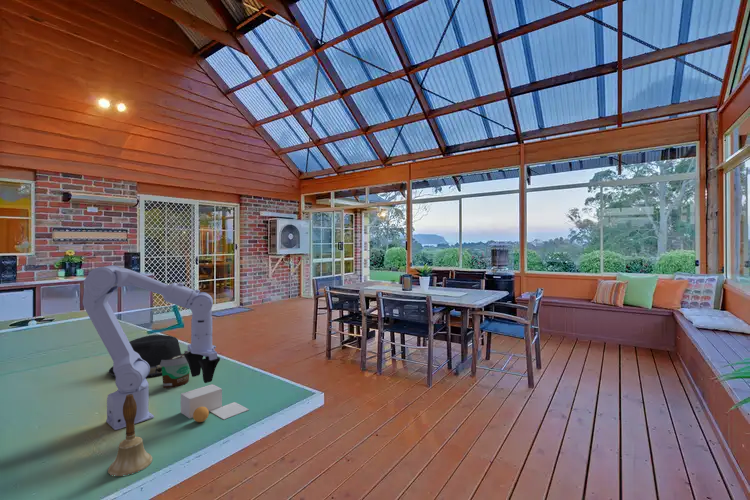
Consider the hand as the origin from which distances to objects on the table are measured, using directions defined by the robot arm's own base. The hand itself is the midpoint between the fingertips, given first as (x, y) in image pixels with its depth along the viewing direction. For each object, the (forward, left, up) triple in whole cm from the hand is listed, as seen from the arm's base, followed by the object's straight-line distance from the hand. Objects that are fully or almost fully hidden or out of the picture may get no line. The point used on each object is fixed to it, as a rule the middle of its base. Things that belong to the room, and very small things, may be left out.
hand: (201, 378), depth 108 cm
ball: (-4, -7, -7) cm, 11 cm away
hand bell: (-23, -15, -10) cm, 29 cm away
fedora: (+5, +52, -10) cm, 53 cm away
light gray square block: (+5, -7, -9) cm, 13 cm away
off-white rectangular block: (0, 0, -9) cm, 9 cm away
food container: (+5, +26, -10) cm, 28 cm away
